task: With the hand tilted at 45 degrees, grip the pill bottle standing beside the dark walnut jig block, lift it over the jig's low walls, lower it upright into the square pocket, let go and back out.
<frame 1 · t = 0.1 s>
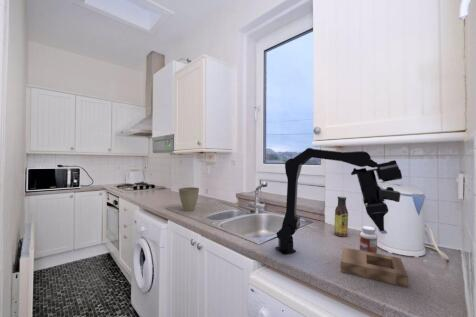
hand: (380, 227, 79), 15 cm above the worktop, tool pointing down, fingers open, 9 cm apart
walnut jig: (379, 271, 78), on the worktop
sauce bottle: (341, 235, 114), on the worktop
pill bottle: (368, 254, 92), on the worktop
plant pot: (188, 210, 164), on the worktop
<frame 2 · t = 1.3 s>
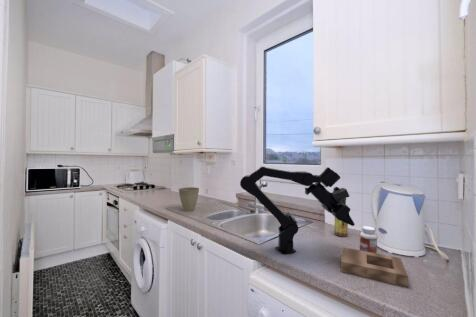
hand: (349, 221, 92), 13 cm above the worktop, tool tilted 45°, fingers open, 9 cm apart
nothing on the worktop moved.
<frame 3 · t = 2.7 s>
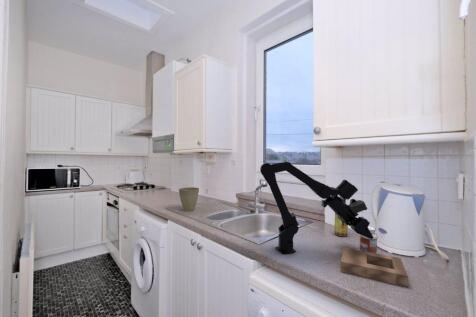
hand: (366, 234, 92), 8 cm above the worktop, tool tilted 45°, fingers open, 9 cm apart
nothing on the worktop moved.
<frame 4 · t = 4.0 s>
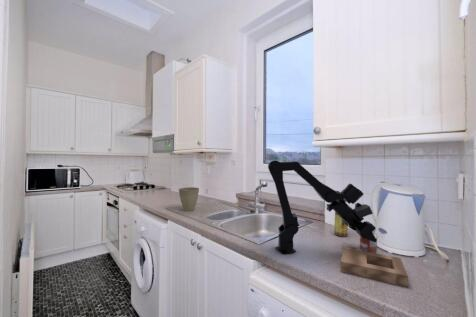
hand: (371, 238, 91), 7 cm above the worktop, tool tilted 45°, fingers closed on pill bottle, 6 cm apart
pill bottle: (368, 254, 92), on the worktop, touching gripper
everything else where it was.
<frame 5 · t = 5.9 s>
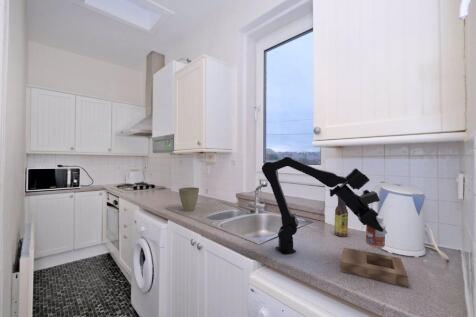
hand: (379, 228, 84), 13 cm above the worktop, tool tilted 45°, fingers closed on pill bottle, 6 cm apart
pill bottle: (375, 245, 85), point 6 cm above the worktop, touching gripper
everything else where it was.
when the fingers open (8 cm above the worktop, at t = 8.2 s): pill bottle drops 1 cm, resting in walnut jig.
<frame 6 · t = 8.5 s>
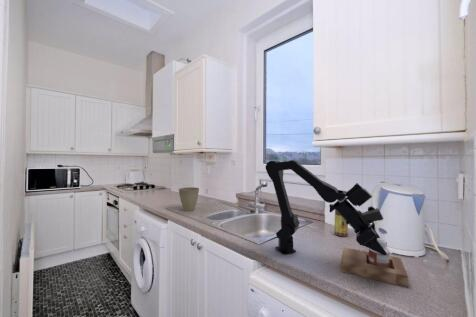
hand: (384, 249, 77), 8 cm above the worktop, tool tilted 45°, fingers open, 9 cm apart
pill bottle: (378, 271, 78), resting in walnut jig
everything else where it was.
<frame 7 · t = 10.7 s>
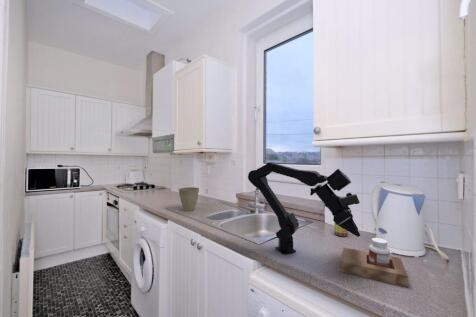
hand: (358, 233, 81), 13 cm above the worktop, tool tilted 40°, fingers open, 9 cm apart
nothing on the worktop moved.
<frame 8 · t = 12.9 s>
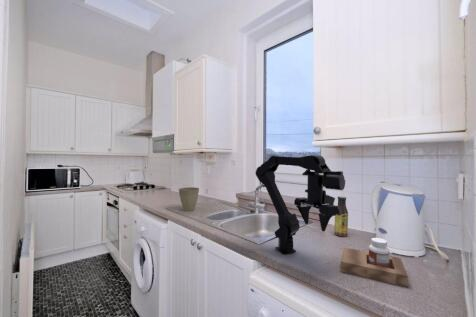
hand: (314, 227, 85), 13 cm above the worktop, tool pointing down, fingers open, 9 cm apart
nothing on the worktop moved.
at the end: pill bottle 0.2 cm off-centre on the walnut jig, point 0.0 cm above the walnut jig's base; pill bottle tilted 0°; the gripper is holding nothing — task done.
